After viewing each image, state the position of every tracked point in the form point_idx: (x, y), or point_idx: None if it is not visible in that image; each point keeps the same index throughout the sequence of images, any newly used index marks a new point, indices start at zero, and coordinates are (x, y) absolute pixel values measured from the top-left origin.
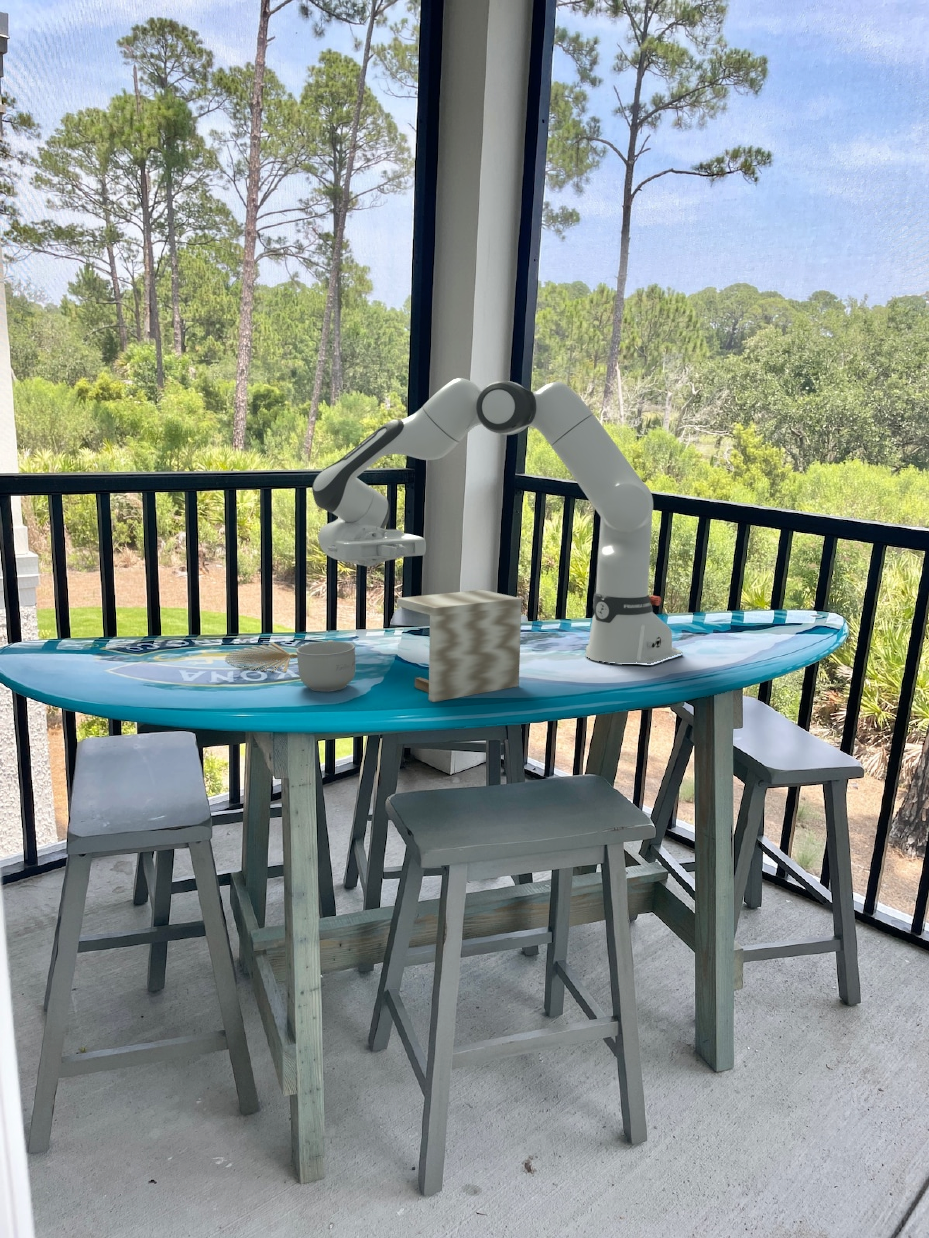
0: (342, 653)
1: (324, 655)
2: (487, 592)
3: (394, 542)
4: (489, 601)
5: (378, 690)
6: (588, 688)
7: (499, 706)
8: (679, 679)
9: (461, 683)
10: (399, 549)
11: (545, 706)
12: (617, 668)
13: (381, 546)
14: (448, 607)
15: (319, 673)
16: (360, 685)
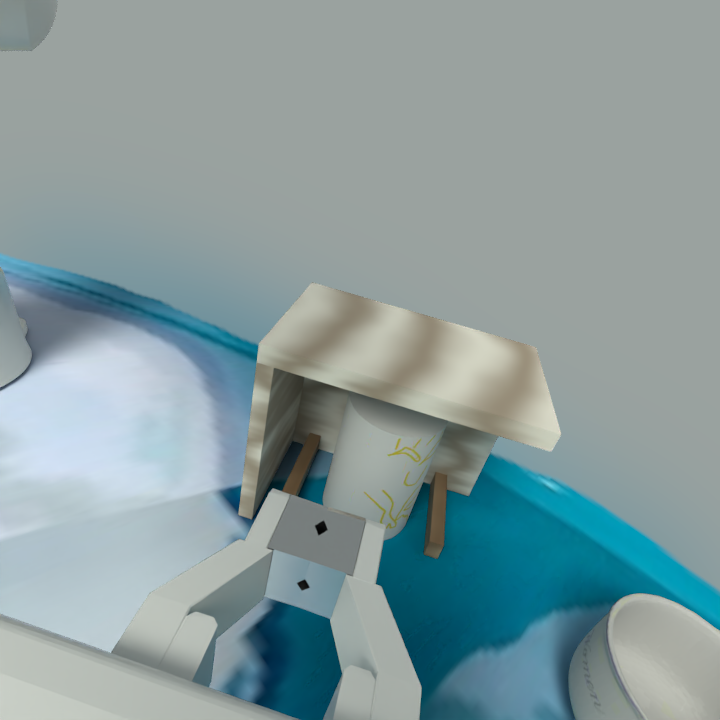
0: (658, 597)
1: (709, 624)
2: (292, 327)
3: (168, 675)
4: (393, 307)
5: (516, 606)
6: (231, 363)
7: None
8: (107, 302)
9: None
10: (344, 513)
11: None
12: (59, 355)
13: (420, 693)
14: (501, 339)
15: (693, 665)
16: (536, 674)
